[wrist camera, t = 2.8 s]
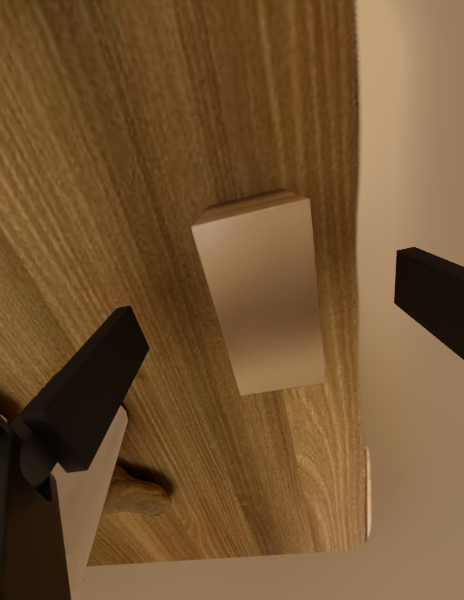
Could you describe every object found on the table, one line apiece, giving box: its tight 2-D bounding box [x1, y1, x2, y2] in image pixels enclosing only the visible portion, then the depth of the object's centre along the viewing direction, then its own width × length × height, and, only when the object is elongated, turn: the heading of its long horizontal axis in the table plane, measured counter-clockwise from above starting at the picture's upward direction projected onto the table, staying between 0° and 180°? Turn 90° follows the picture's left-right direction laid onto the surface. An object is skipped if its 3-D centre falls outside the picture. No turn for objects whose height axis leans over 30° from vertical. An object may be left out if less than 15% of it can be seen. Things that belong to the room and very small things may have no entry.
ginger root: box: [101, 465, 172, 516], centre depth 27 cm, size 10×10×4 cm
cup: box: [51, 406, 128, 600], centre depth 18 cm, size 10×10×13 cm
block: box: [191, 188, 326, 395], centre depth 14 cm, size 9×4×6 cm, turn 13°
